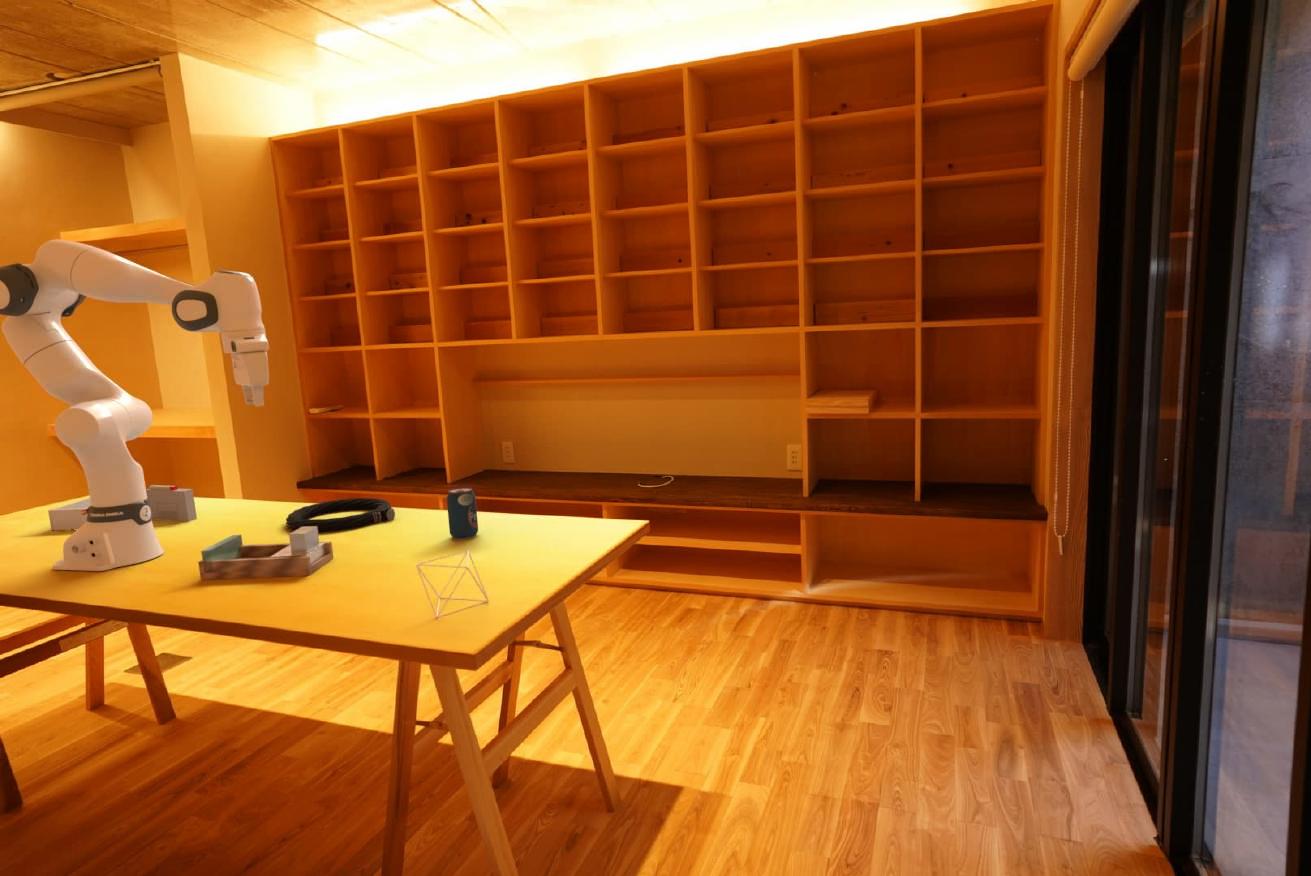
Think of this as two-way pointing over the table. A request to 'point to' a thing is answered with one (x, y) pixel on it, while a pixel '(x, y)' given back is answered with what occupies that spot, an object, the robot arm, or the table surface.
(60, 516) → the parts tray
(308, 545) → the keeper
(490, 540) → the table surface
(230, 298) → the robot arm
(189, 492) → the cassette player
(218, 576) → the drawer
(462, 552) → the geometric polyhedron
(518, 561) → the table surface
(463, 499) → the soda can
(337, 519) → the cable lock
